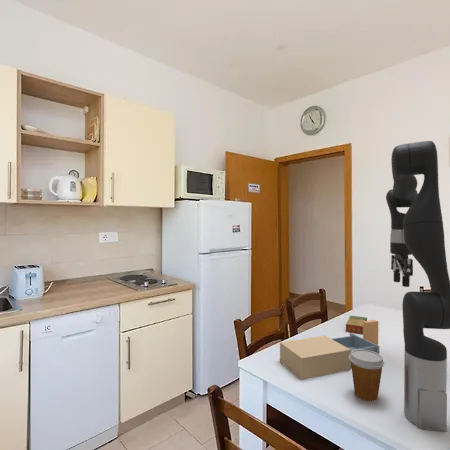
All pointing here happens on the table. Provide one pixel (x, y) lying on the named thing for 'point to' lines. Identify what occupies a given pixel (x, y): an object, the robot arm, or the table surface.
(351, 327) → the carton
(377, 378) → the disposable coffee cup
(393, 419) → the table surface
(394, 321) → the table surface
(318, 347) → the box lid
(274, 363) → the table surface
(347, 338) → the grey box
